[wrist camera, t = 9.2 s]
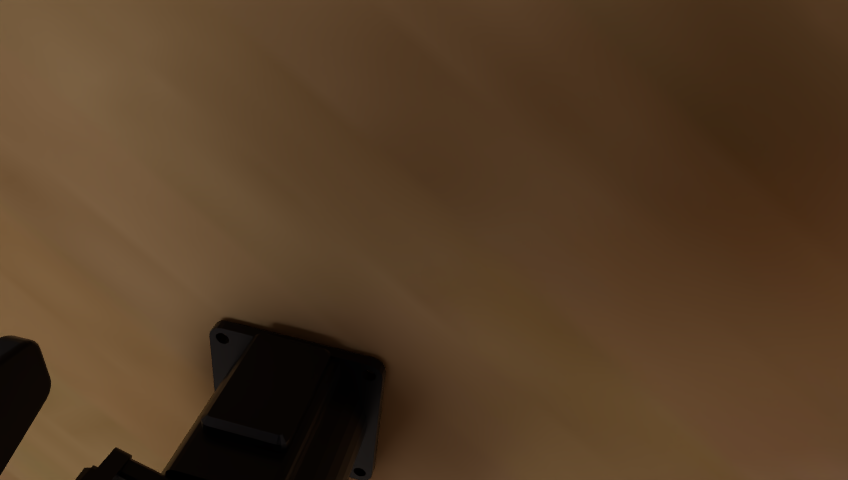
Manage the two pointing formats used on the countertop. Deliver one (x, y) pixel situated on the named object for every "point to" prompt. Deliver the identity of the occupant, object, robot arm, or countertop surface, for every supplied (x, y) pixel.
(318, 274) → the countertop surface
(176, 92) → the countertop surface
